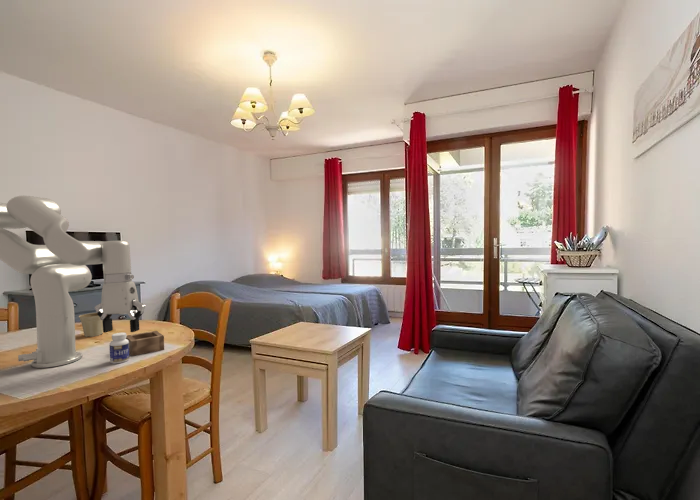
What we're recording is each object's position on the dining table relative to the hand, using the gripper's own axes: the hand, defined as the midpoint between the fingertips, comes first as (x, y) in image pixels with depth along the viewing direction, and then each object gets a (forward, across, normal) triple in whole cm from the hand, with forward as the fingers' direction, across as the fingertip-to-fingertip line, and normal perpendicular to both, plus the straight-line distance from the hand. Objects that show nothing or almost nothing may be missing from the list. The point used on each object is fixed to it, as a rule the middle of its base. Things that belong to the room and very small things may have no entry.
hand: (121, 331), depth 115 cm
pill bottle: (+10, +1, 0) cm, 10 cm away
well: (+10, +2, -12) cm, 15 cm away
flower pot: (+9, +38, -28) cm, 48 cm away
